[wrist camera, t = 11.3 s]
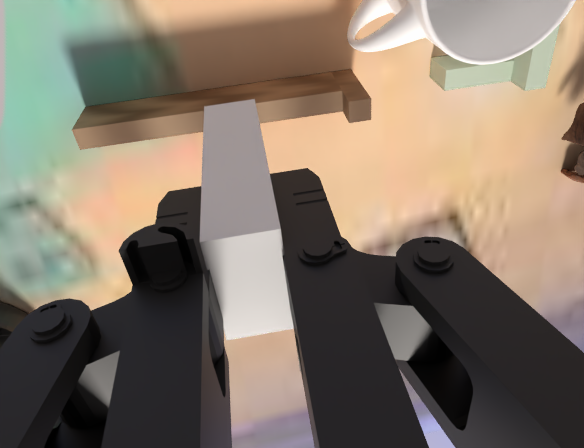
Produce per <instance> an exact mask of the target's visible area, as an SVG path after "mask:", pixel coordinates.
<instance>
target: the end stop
mask: <svg viewBox="0 0 584 448" xmlns="http://www.w3.org/2000/svg"><path fill="white" fill-rule="evenodd" d="M559 25H560V24H559ZM559 25H558V26H557V27H556V28H555V29H554V30H553V31H552V32H551V33H550V34H549V35H548V36H547V37H546V38H545V39H544V40H542V41H541V42H540V43H539V44H537V45H536V46H534V47H533V48H532V49H530V50H528V51H527V52H525V53H523V54H521V55H519V56H517V57H515V58H512V59H510V60H506V61H503V62H499V63H494V64H485V65H478V64H469V63H465V62H462V61H459V60H457V59H454V58H452V57H451V56H449V55H447V56H439V57H432V58H431V66H430V78H431V79H432V80H433V81H434V82H436V83H437V84H438V85H439V86H440V87H441V88H442V89H443V90H444V91H446V90H453V89H460V88H466V87H473V86H480V85H487V84H494V83H501V82H508V81H511V82H513V83H514V84H516V85H517V86H518V87H520V88H521V89H523V90H524V91H527V90H534V89H540V88H545V87H546V83H547V78H548V74H549V69H550V65H551V61H552V56H553V52H554V47H555V43H556V39H557V34H558V30H559Z"/></svg>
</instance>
